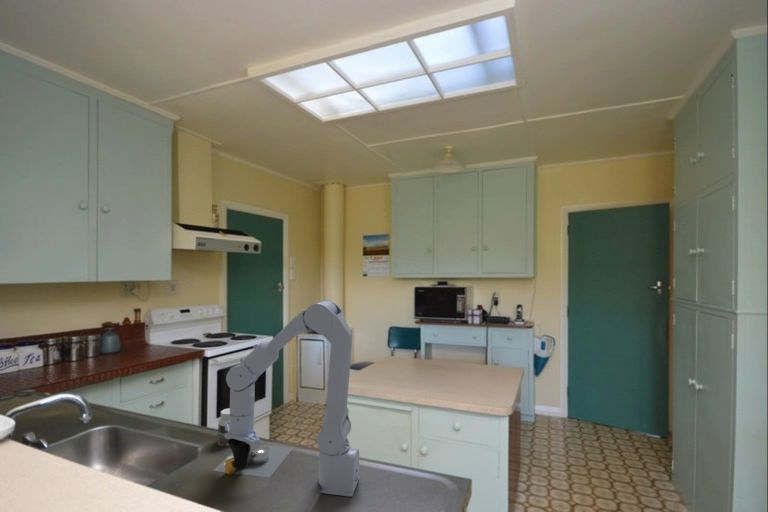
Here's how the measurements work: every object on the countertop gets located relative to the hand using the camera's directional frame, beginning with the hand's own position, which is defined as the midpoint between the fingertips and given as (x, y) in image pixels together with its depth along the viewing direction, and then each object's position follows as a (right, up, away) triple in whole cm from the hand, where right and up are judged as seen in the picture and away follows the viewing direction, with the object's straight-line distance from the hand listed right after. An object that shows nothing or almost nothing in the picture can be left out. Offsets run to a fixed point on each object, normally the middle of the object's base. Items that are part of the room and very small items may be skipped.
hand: (240, 467), depth 96 cm
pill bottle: (-9, -2, +16) cm, 19 cm away
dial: (0, -1, +3) cm, 4 cm away
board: (+1, -2, +7) cm, 7 cm away
